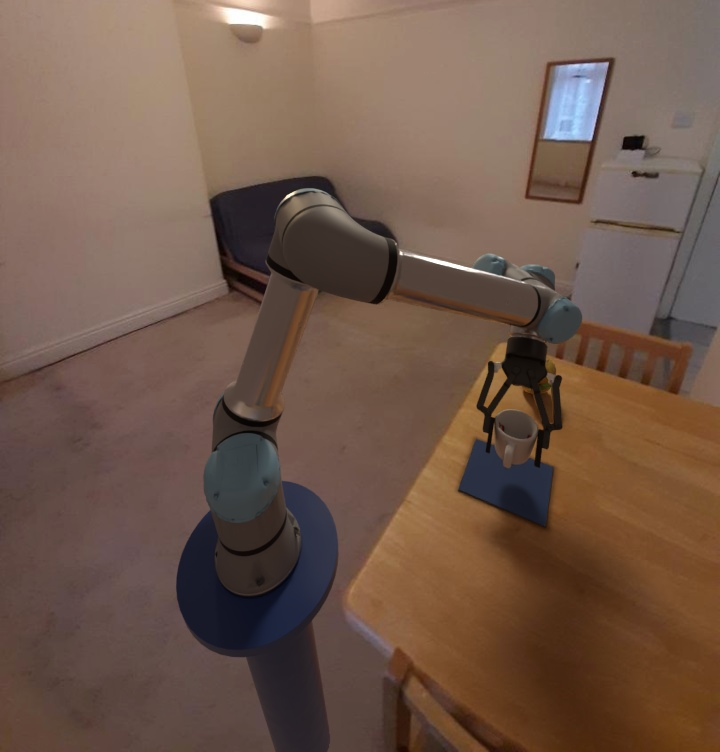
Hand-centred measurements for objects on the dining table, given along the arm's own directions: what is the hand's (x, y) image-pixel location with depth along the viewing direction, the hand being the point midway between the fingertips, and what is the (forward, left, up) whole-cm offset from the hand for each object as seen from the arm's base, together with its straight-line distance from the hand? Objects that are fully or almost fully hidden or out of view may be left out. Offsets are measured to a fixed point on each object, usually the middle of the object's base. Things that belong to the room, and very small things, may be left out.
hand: (511, 459), depth 75 cm
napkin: (0, +3, -9) cm, 10 cm away
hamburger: (+2, +32, -6) cm, 33 cm away
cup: (0, +3, -4) cm, 5 cm away
